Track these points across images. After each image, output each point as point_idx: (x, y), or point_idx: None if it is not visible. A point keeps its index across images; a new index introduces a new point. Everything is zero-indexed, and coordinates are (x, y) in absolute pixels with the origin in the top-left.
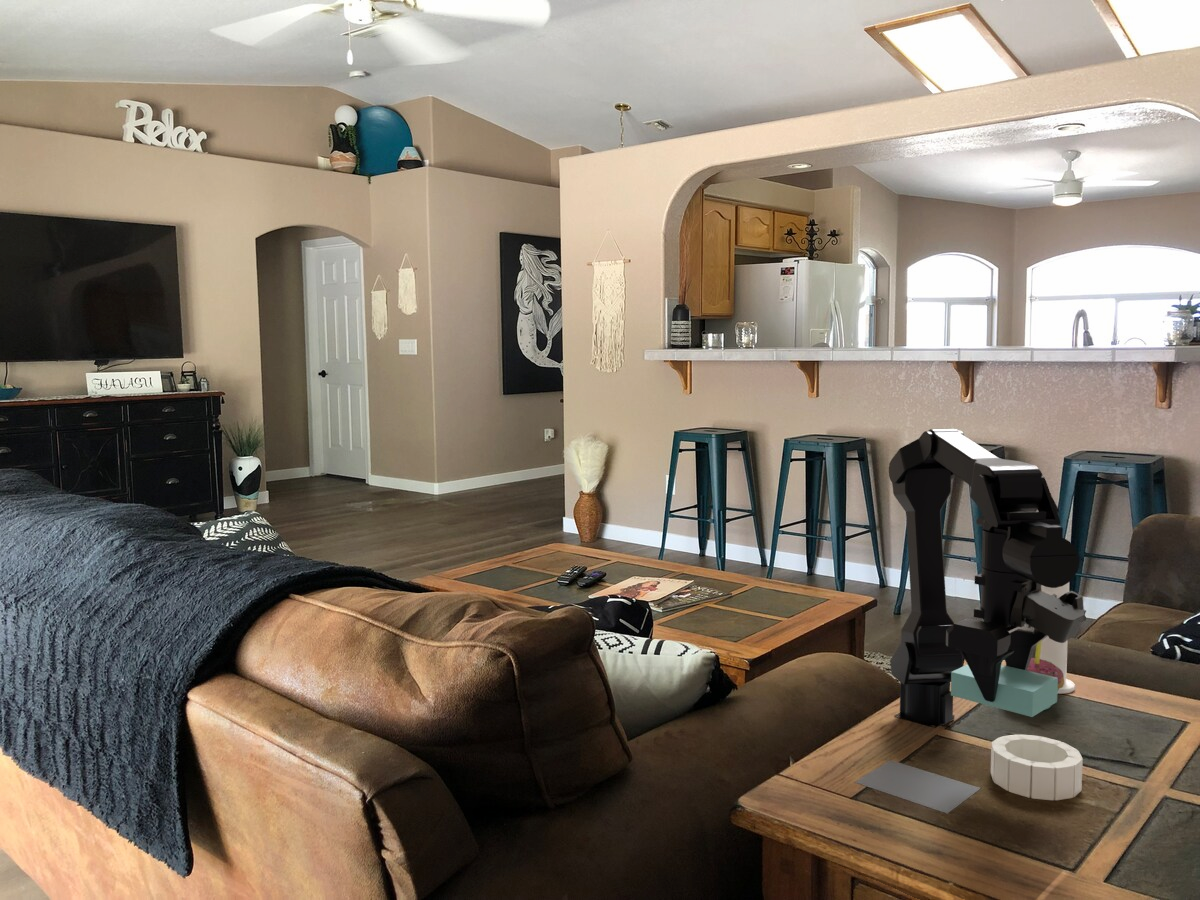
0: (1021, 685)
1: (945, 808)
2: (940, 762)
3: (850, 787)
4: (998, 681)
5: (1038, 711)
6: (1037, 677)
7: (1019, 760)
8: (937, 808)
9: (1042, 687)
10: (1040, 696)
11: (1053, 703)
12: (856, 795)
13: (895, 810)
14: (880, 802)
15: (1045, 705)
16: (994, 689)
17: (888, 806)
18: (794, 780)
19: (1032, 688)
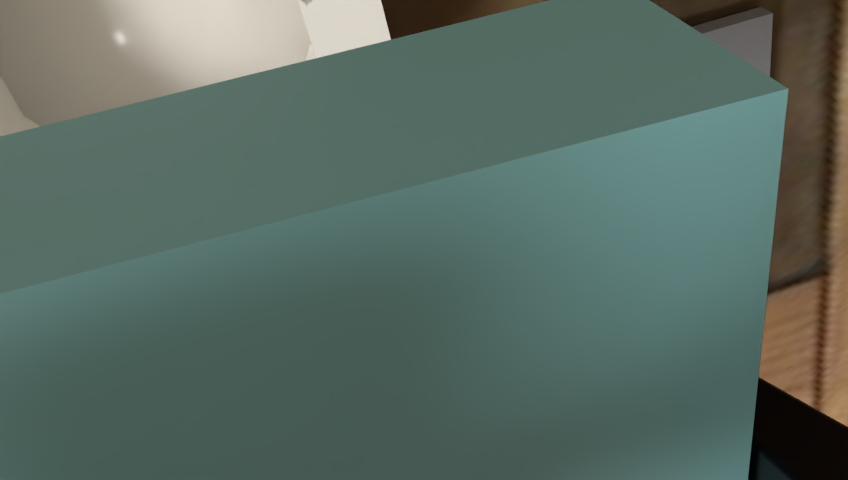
0: (626, 325)
1: (735, 48)
2: None
3: None
4: (787, 462)
5: (467, 29)
6: (159, 442)
7: (357, 47)
8: (757, 64)
9: (443, 170)
10: (470, 104)
11: (63, 122)
12: (797, 279)
13: (818, 148)
14: (794, 212)
15: (291, 79)
16: (791, 396)
17: (805, 180)
18: (822, 410)
19: (642, 190)
